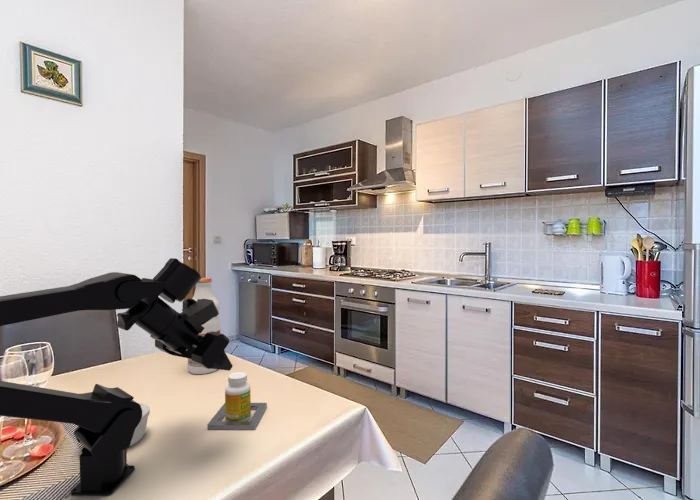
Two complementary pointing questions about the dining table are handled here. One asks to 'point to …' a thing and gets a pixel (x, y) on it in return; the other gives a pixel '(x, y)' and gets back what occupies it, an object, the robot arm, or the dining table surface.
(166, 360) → the dining table surface
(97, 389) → the robot arm
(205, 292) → the fruit juice
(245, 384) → the supplement bottle
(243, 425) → the frame
